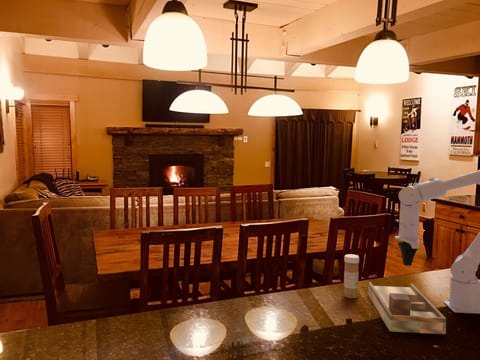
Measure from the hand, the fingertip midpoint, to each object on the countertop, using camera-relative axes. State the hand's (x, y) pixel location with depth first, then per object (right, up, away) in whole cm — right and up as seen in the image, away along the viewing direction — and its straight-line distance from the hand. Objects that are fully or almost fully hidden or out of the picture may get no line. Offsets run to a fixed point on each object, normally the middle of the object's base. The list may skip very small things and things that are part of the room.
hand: (407, 265), depth 127 cm
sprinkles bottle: (-18, -11, +1) cm, 21 cm away
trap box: (-6, -11, -11) cm, 17 cm away
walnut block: (-10, -9, -19) cm, 23 cm away
